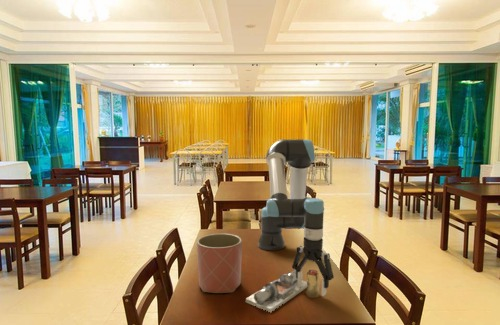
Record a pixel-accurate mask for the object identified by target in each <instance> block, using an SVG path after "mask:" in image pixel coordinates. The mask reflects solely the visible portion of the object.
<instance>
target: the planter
mask: <svg viewBox="0 0 500 325" xmlns="http://www.w3.org/2000/svg"><path fill="white" fill-rule="evenodd" d="M242 244H243V240H242V238H241V237H240V236H239V235H236V234H232V233H211V234H207V235H203V236H201V237H199V238H198V239H197V241H196V250H197V251H196V252H197V254H196V255H197V267H198V268H197V269H198V285H199V288H201V291H202V292H203V293H213V294H226V293H233V292H235V291H236V290H237V289H238V287H240V285H241V281H242V250H243V245H242Z"/></svg>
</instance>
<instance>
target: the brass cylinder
mask: <svg viewBox="0 0 500 325" xmlns="http://www.w3.org/2000/svg"><path fill="white" fill-rule="evenodd" d="M306 282H307V288H306V296H307V297H309V298H313V299H314V298H315V299H316V298H318V297H320V296H319V295H320V294H319V293H320V292H319V291H320V290H319V289H320V273H319V272H318V270H316V269H309V270H308V271H307V272H306Z"/></svg>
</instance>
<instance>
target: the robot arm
mask: <svg viewBox="0 0 500 325" xmlns="http://www.w3.org/2000/svg"><path fill="white" fill-rule="evenodd" d="M266 152H267V153H266V157H265V158H266V159H265V161H266V164H267V166H268V177H269V181H268V182H269V194H270V195H269V196H270V197H269V198H267V199H266V206H264V207H263V208H262V209H261V215H260V217H261V228H260V229H261V233H260V237H259V238H258V242H257V244H258V248H259V249H260V250H261V249H262V250H264V251H279V250H282V249H284V248H285V246H286V245H285V240H284V236H283V231H282V230H284V229H285V230H286V229H292V230H293V229H294V230H295V229H298V230H300V229H303V246H302V245H299V246H298V247H296V254H295V256H294V259H293V263H292V266H291V267H292V269H293V270H296V278H297V279H298V284H297V287H298V288H299V287H301V286H302V282H303V281H304V279H303V277H304V274H303V270H302V268H303V267H304V266H305V264H306V263H307V262H308V261H312V262H315V264H316V265H317V267H318V269H319V272H320V274H321V276H322V277H323V279H322V280H321V294H320V295H321V296H322V297H324V296H325V295H327V288H329V284H330V281H332V280H333V279H334V277H335V276H334V273H333V269H332V263H331V260H330V258H331V255H330V253H328V252H327V253H325V252H324V251H323V246H324V245H323V243H324V240H323V238H324V213H325V207H324V206H325V203H324V200H322V199H320V198H316V197H309V196H306V192H307V191H306V190H307V179H308V178H307V177H308V169H309V168H310V167H311V164H312V163H314V162H315V159H316V155H315V153H316V152H315V146H314V143H313V140H311V139H303V138H302V139H301V138H300V139H297V138H296V139H293V138H292V139H280V140H277V141H275V142H274V143H273V144H272V145H270V147H269V149H268V150H267V151H266ZM285 163H288V166H289V167H290V182H289V198H288V189H287V181H286V179H287V178H286V171H285ZM302 254H304V255H303V257H302ZM301 257H302V259H301ZM300 260H301V261H300Z"/></svg>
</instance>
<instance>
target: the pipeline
mask: <svg viewBox="0 0 500 325" xmlns="http://www.w3.org/2000/svg"><path fill="white" fill-rule="evenodd" d="M297 284H298V279H297V278H296V270H295V269H293V270H292V271H291V272H290V273H283V274H281V275H280V277H279V278H278V279H275V280H273V281H270V282H267V283H265V285H264V286H262V289H260V290H258V291H256V292H255V293H252V294H251V295H250V296H248V297H246V298H245V303H247V304H249V305H252V306H254V307H255V306H256V307H255V308H258V309H260V310H262V309H263V310H262V311H265V310H266V311H265V312H267V311H268V313H269V312H270V314H271V313H273V312H274V311H275V309H276V308H277V309H279V308H280V307H281V306H282V304H283V305H284V304H285V303H287V302H288V301H290V300H292V299H293V298H295V296H297V295H298V294H300V293H301V292H302V291H303V292H304V291H305V290H307V280H303V282H302V286H301V287H299V288H298V287H297ZM279 306H280V307H279ZM277 309H276V310H277ZM272 311H273V312H272Z"/></svg>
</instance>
